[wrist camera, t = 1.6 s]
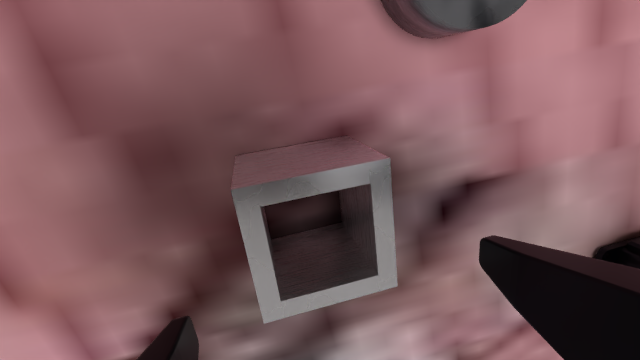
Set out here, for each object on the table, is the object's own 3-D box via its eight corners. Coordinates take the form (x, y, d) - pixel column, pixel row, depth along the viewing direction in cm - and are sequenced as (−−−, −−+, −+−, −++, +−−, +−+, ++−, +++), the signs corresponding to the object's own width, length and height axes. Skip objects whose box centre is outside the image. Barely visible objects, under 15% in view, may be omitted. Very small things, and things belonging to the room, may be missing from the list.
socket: (357, 231, 17) (397, 286, 13) (258, 255, 16) (264, 323, 12) (346, 135, 15) (390, 157, 11) (235, 155, 15) (230, 189, 10)
